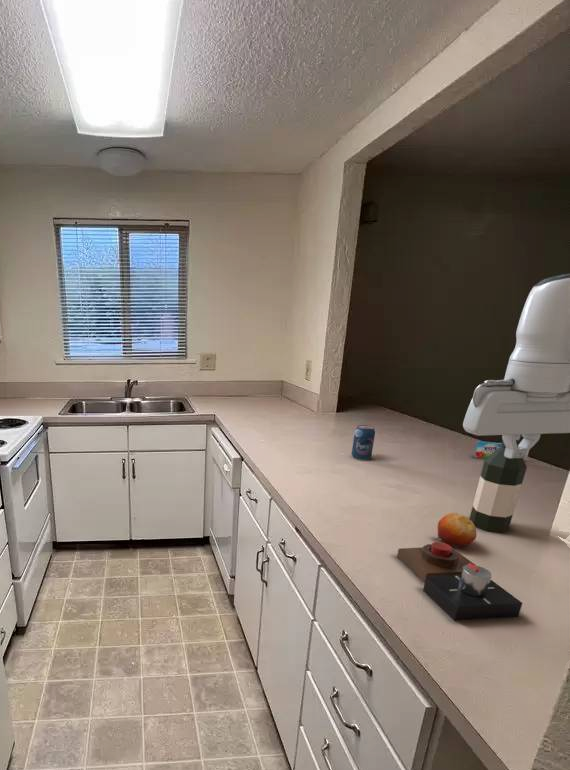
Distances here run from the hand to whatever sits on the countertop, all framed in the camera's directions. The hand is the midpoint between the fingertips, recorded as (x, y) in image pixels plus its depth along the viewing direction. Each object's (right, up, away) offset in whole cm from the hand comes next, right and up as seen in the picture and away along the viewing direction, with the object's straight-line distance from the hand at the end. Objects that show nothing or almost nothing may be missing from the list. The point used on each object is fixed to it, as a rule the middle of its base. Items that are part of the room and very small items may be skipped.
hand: (515, 457), depth 77 cm
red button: (-4, -20, +14) cm, 25 cm away
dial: (-5, -25, +3) cm, 25 cm away
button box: (-4, -23, +16) cm, 28 cm away
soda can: (+12, +3, +87) cm, 88 cm away
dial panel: (-5, -27, +4) cm, 28 cm away
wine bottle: (+21, -16, +34) cm, 43 cm away
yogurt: (+59, +3, +83) cm, 102 cm away
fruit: (+6, -19, +26) cm, 33 cm away
